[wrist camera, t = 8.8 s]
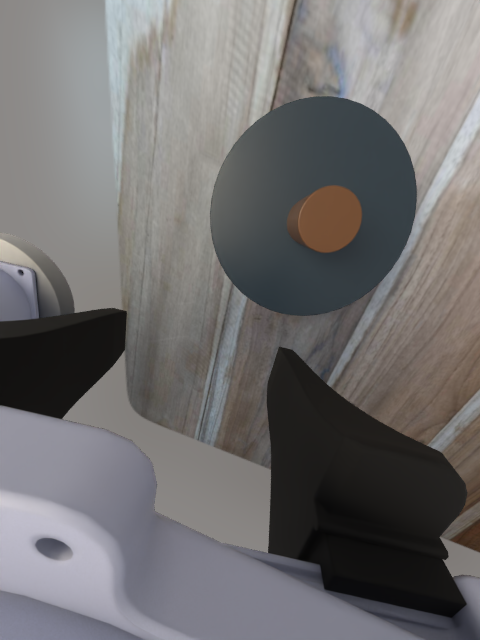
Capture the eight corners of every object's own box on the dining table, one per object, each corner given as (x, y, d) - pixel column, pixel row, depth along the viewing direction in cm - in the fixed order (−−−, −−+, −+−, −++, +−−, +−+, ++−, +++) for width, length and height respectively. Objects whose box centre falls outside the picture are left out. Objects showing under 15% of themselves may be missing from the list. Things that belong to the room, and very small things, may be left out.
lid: (200, 289, 16) (174, 317, 11) (234, 83, 12) (217, -12, 7) (359, 326, 16) (402, 370, 11) (443, 134, 12) (565, 74, 7)
